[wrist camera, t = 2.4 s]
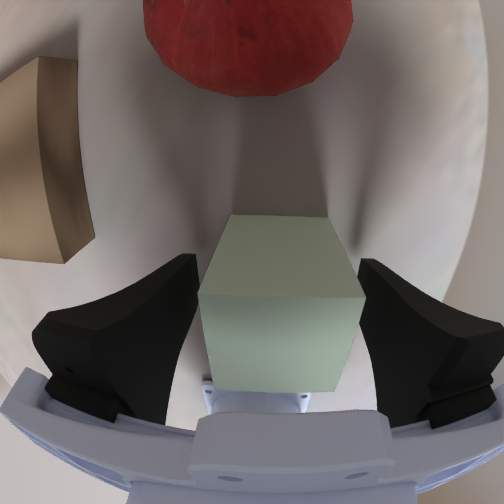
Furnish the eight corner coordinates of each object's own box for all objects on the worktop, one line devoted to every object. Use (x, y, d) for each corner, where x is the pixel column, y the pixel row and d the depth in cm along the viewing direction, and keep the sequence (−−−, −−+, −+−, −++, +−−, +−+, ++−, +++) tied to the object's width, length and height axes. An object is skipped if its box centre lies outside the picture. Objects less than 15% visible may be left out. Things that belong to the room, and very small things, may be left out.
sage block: (317, 296, 14) (334, 391, 9) (234, 294, 14) (214, 388, 9) (327, 217, 12) (365, 297, 7) (230, 214, 12) (197, 293, 7)
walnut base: (95, 237, 13) (64, 264, 11) (7, 237, 14) (-18, 256, 11) (77, 60, 9) (38, 56, 6) (-12, 112, 9) (-42, 119, 7)
